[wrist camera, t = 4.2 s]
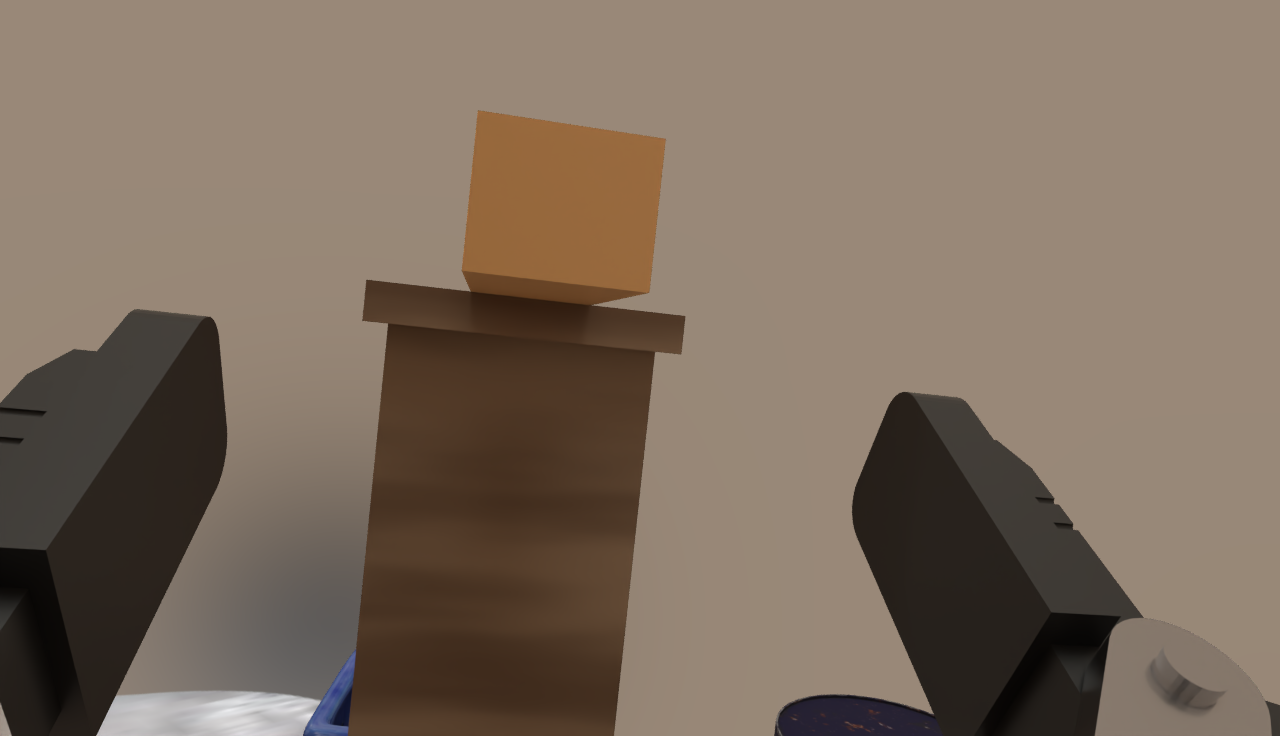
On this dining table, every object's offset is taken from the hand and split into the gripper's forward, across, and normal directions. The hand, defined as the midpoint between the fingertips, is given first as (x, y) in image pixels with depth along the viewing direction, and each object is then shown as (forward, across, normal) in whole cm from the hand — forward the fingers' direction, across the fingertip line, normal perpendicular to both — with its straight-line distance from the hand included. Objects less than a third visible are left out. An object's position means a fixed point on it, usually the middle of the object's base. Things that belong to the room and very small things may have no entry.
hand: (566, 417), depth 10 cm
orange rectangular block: (+13, 0, +6) cm, 15 cm away
